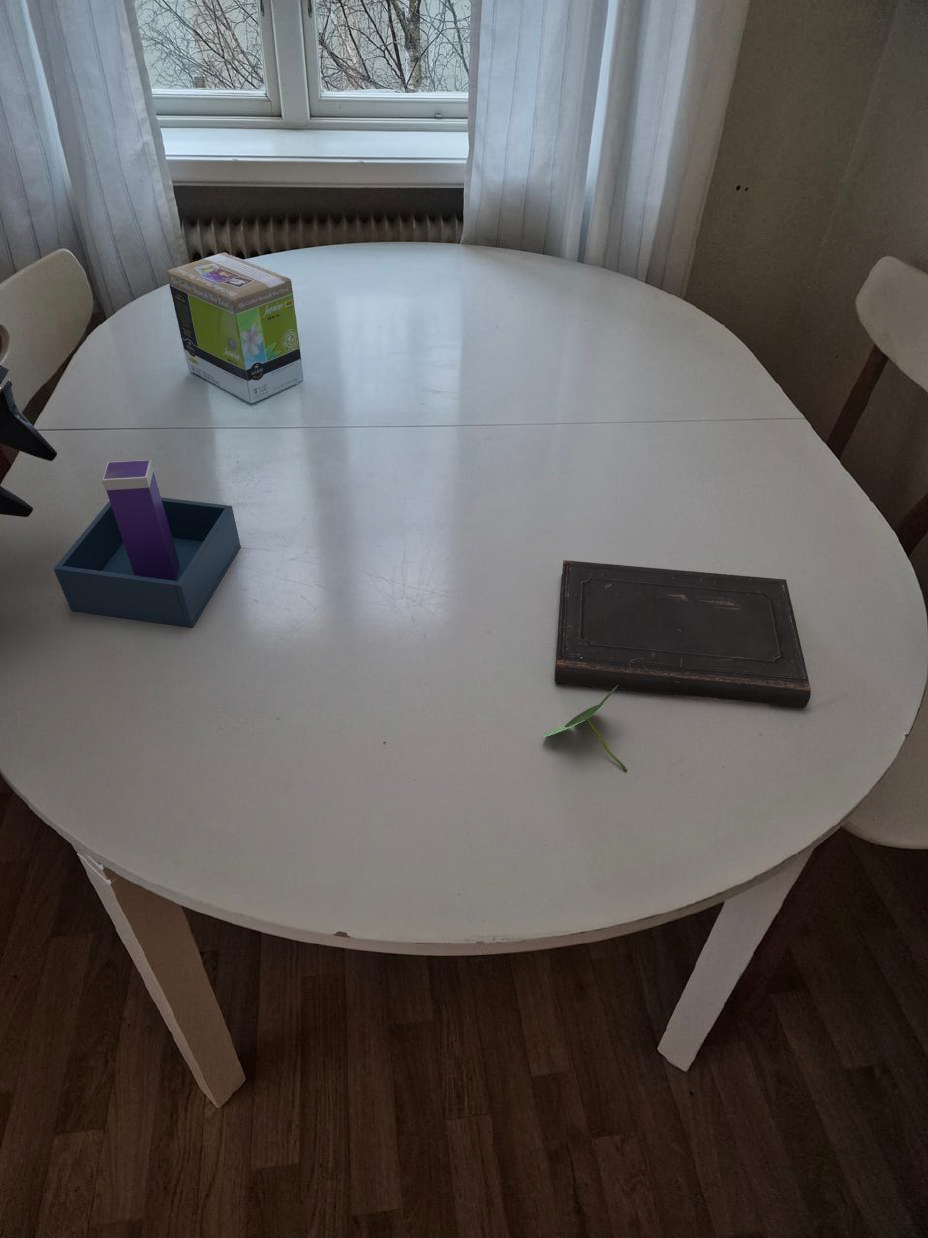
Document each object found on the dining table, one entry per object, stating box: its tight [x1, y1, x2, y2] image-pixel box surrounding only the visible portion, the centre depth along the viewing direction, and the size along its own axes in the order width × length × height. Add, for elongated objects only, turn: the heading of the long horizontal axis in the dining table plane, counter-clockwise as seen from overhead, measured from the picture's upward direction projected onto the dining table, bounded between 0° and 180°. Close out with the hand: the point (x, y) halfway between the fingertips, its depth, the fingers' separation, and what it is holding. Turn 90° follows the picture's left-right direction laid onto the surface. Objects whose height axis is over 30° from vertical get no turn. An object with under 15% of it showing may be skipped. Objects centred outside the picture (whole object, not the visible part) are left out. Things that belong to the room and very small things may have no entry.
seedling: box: [542, 685, 628, 773], centre depth 74 cm, size 7×8×7 cm
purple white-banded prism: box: [101, 459, 179, 581], centre depth 87 cm, size 4×3×13 cm
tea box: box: [166, 251, 304, 404], centre depth 119 cm, size 15×10×15 cm
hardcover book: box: [553, 559, 812, 708], centre depth 85 cm, size 16×23×2 cm
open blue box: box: [53, 496, 242, 628], centre depth 90 cm, size 13×13×6 cm
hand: (43, 484), depth 82 cm, fingers open, 9 cm apart
